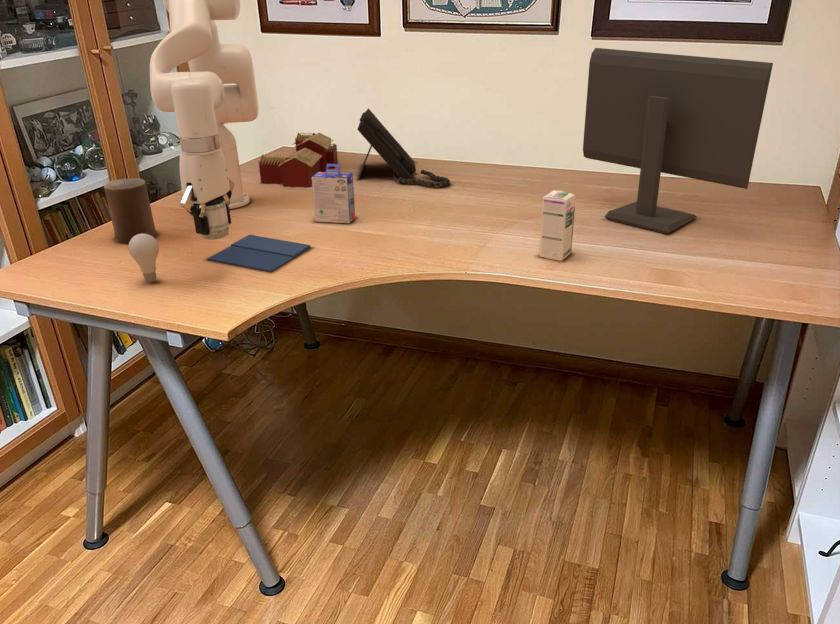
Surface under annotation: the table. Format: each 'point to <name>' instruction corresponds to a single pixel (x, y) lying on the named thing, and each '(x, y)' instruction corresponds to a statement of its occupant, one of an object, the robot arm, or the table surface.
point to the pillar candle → (129, 208)
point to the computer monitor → (673, 123)
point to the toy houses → (299, 161)
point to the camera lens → (216, 219)
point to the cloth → (260, 253)
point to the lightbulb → (145, 254)
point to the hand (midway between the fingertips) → (214, 227)
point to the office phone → (393, 152)
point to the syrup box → (557, 225)
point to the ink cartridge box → (333, 196)
